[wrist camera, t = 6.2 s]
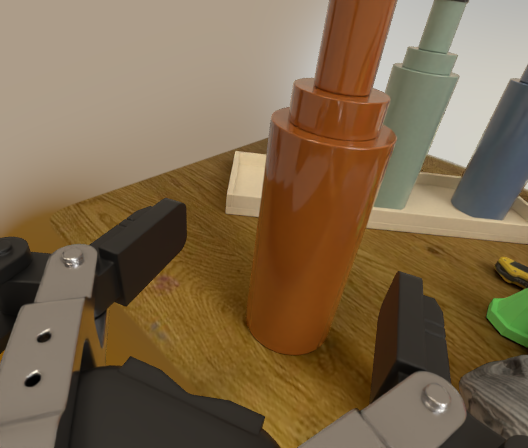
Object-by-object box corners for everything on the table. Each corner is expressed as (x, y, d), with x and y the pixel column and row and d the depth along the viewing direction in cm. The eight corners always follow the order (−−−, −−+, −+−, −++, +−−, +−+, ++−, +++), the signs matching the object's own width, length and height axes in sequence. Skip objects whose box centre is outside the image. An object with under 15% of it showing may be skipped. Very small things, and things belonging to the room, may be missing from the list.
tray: (225, 213, 34) (226, 194, 33) (234, 167, 43) (235, 150, 42) (549, 246, 36) (562, 229, 35) (491, 195, 45) (500, 180, 44)
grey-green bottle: (344, 189, 40) (402, -17, 29) (379, 182, 43) (445, -8, 31) (380, 215, 36) (466, -14, 25) (416, 206, 39) (508, -4, 27)
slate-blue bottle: (440, 200, 41) (534, 3, 29) (468, 192, 43) (564, 10, 32) (486, 226, 37) (617, 9, 25) (514, 216, 39) (643, 17, 28)
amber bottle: (231, 301, 24) (263, -53, 13) (298, 279, 27) (371, -29, 16) (273, 370, 20) (372, -60, 9) (346, 335, 23) (492, -26, 12)
